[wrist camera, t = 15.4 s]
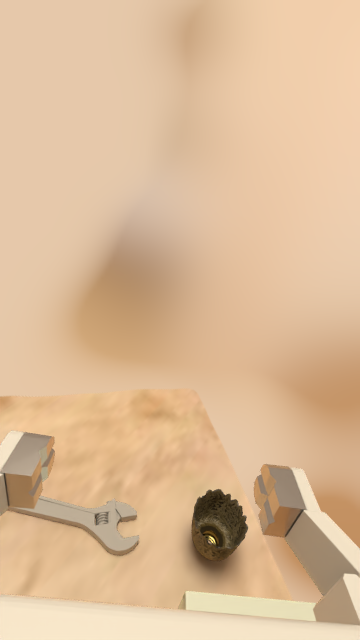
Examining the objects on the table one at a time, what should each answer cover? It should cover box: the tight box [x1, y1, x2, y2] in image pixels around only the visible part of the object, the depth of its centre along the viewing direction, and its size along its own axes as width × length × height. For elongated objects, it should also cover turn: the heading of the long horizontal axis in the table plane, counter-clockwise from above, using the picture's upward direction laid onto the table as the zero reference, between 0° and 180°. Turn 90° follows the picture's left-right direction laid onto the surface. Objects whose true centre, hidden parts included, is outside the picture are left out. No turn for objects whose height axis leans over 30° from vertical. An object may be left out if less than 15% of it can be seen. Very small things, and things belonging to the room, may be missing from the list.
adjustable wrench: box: [7, 496, 139, 555], centre depth 43 cm, size 25×6×2 cm, turn 78°
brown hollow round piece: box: [192, 489, 248, 561], centre depth 41 cm, size 7×7×8 cm
